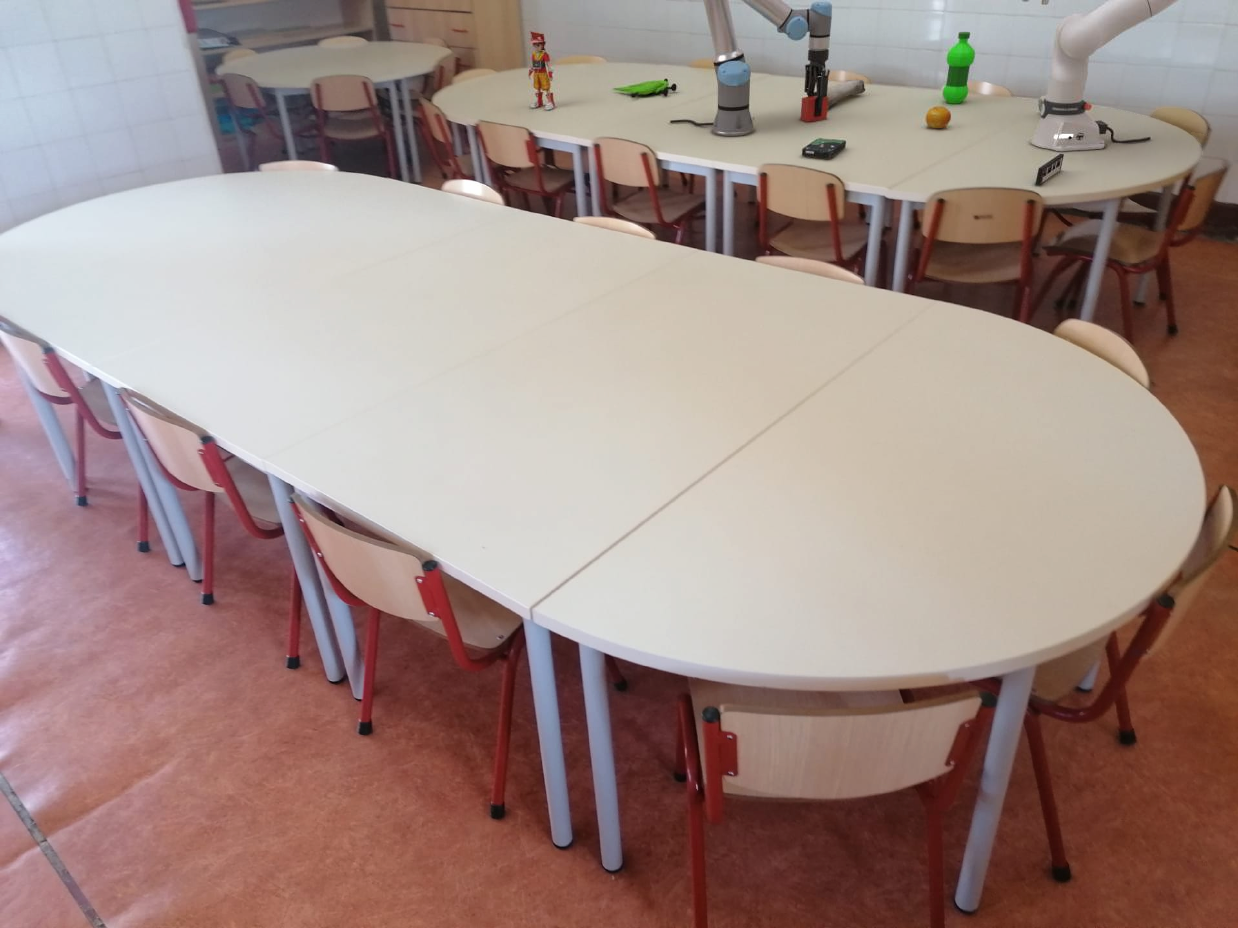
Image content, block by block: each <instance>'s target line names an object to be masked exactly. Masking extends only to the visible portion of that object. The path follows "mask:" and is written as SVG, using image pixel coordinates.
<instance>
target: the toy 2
mask: <svg viewBox="0 0 1238 928" xmlns="http://www.w3.org/2000/svg"><path fill="white" fill-rule="evenodd" d="M669 85H670V83H669V79H668V78H664V79H663V80H649V81H644V82H640V83H634V84H629V85H627V86H621V87H613V88H612V89H613V90H616V91H619V92H623V93H627V94H628V93H629V94H631V95H630V96H631V98H632V99H634V98H636V96H637V95H650V94H652V93H654V94H658V93H662V95H663V96H665V97H667V96H668V95H669V90H671V91H672V92H676V91H677V84H676V83H672V84H671V86H669Z"/></svg>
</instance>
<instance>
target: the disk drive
mask: <svg viewBox="0 0 1238 928" xmlns="http://www.w3.org/2000/svg"><path fill="white" fill-rule="evenodd" d="M846 145H847V140H843V139H833V138H829V139H828V138H822V137H819V138H816V139H814V140H813V141H811V142H810V143H809V144H807V145H805V146H804V147H803V148H802V149H801V156H802V157H803V156H804V157H808V158H815V159H825V160H830V159H833V157H835V156H836V155H837V154H839V153H840V152H842V151H843V150H844V149H846V147H847V146H846Z"/></svg>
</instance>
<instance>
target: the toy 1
mask: <svg viewBox="0 0 1238 928" xmlns="http://www.w3.org/2000/svg"><path fill="white" fill-rule="evenodd" d="M529 33H530V35H531V36H528V37H527V38H528V39H529V40H528V41H527V43H529V44H530V43H531V44H532V48H533V50H534V51H533V52H532V55H531V58H530V59H531V63H530V66H528V74H527V75H528V76H527V77H528V79H529V80H531V75H532V74H533V84H532V85H533V86H532V87H533V88H534V89H535V90H536V92H534V95H535V97H536V100H535V101H533V102H531V105H530V108H531V109H535V108H538V107H542V106H544V101H543V100H544V99H543V95H544V92H546V94H545V97H546V99H547V103H546V104H545V106H544V110H546V111H549V110H553V109H554V107H555V106H556V105H555V99H554V92H551V91H550V90H551V86H552V84H551V82H552V81H553V80H554V77H553V73H554V71H555V70H554V69H552V68H551V63H550V61H551V59H550V58H551V57H550V54H549V53H548V52H547V50H546V48H545V46H546V44H547V41H545V35H544V33H543V32H542V33H539V32H535V31H529Z"/></svg>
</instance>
